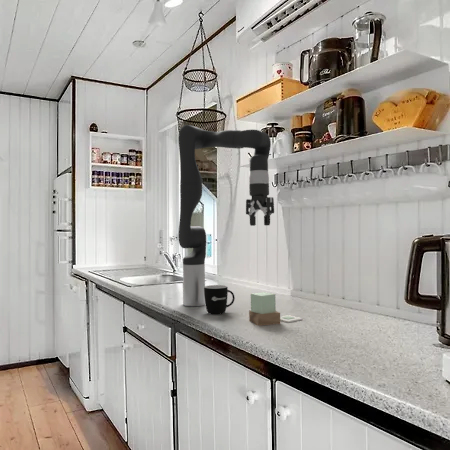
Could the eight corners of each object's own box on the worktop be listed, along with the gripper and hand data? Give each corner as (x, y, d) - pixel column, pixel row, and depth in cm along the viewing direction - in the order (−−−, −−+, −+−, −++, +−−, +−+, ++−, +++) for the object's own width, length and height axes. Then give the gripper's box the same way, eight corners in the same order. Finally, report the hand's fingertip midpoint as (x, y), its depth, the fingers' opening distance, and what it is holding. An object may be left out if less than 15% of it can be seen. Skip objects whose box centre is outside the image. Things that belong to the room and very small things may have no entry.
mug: (208, 316, 158) (208, 288, 158) (201, 312, 166) (201, 285, 166) (238, 313, 162) (238, 286, 162) (230, 309, 170) (230, 283, 170)
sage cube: (250, 311, 148) (250, 293, 148) (264, 309, 151) (264, 292, 151) (261, 314, 142) (261, 296, 143) (275, 311, 146) (275, 294, 146)
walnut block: (249, 321, 149) (249, 310, 149) (270, 319, 152) (270, 308, 152) (258, 326, 142) (258, 314, 142) (280, 324, 144) (280, 312, 144)
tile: (273, 319, 151) (273, 317, 151) (288, 316, 155) (288, 314, 155) (287, 322, 145) (287, 320, 145) (302, 319, 149) (302, 317, 149)
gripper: (240, 184, 168) (240, 225, 168) (263, 180, 156) (264, 225, 156) (255, 185, 172) (255, 225, 172) (278, 181, 160) (279, 225, 160)
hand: (259, 225), depth 164 cm, fingers open, 8 cm apart
